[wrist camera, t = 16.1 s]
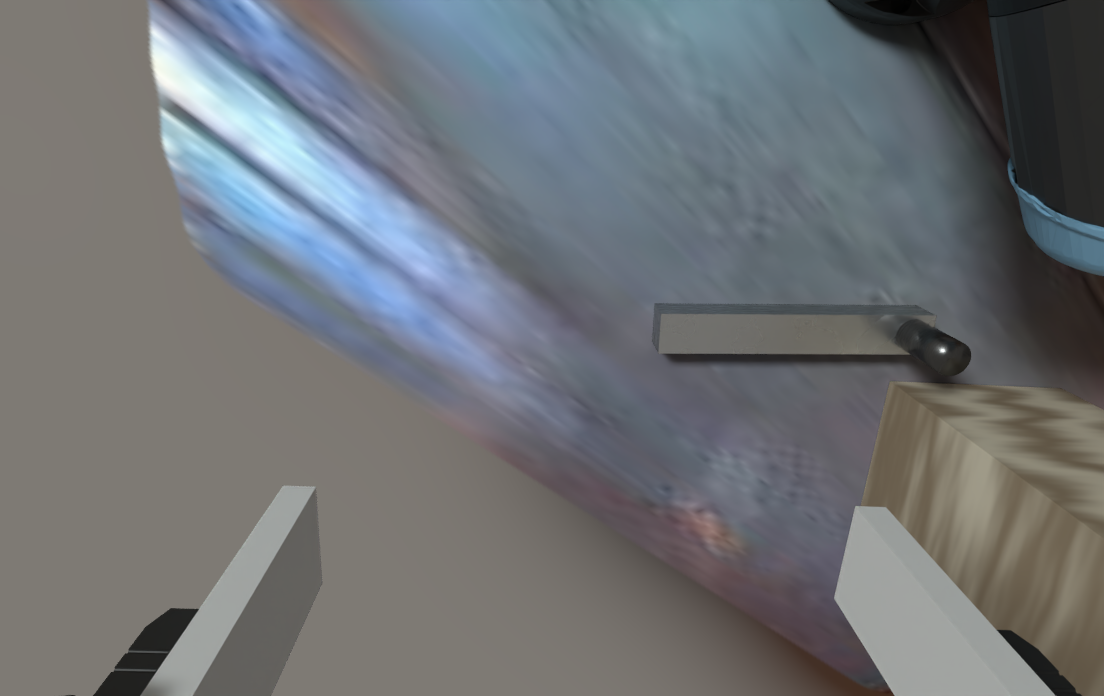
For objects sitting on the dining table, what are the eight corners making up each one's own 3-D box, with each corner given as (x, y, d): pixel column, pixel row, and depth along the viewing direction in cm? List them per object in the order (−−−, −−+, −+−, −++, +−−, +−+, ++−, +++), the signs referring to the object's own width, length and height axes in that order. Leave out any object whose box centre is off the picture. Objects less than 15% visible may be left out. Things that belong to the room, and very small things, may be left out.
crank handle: (651, 340, 52) (672, 379, 44) (653, 302, 51) (675, 336, 43) (906, 341, 52) (970, 380, 45) (914, 304, 51) (980, 337, 44)
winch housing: (849, 554, 58) (1150, 969, 30) (889, 381, 53) (1301, 684, 25) (1005, 559, 59) (1446, 970, 31) (1060, 388, 54) (1654, 691, 25)
